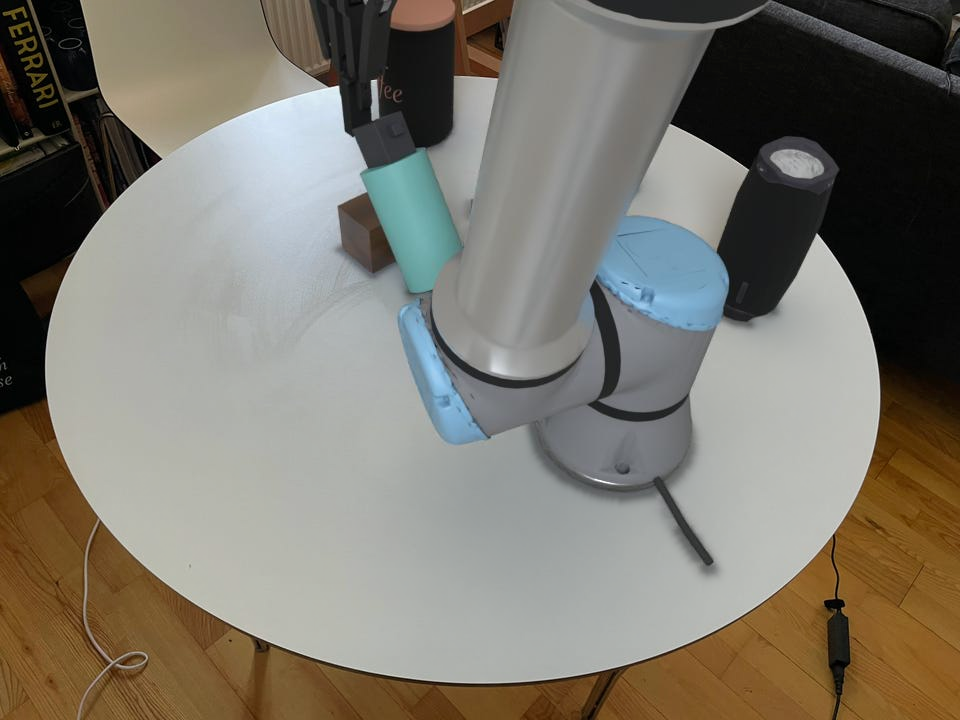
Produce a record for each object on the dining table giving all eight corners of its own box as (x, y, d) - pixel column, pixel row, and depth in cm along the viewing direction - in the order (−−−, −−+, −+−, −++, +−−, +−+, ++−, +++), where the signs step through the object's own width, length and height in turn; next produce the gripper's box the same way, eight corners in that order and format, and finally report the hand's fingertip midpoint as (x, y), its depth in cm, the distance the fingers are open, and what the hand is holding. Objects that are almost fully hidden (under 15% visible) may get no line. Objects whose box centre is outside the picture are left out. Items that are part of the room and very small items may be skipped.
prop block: (424, 245, 93) (423, 203, 89) (372, 273, 90) (369, 231, 85) (393, 222, 96) (391, 179, 91) (342, 248, 92) (337, 205, 88)
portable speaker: (731, 264, 94) (787, 122, 79) (794, 307, 89) (865, 165, 74) (685, 292, 90) (735, 148, 75) (749, 339, 85) (814, 195, 71)
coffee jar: (376, 112, 113) (368, -11, 100) (447, 108, 115) (449, -14, 101) (383, 153, 106) (376, 26, 93) (458, 148, 108) (462, 22, 94)
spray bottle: (483, 289, 88) (483, 140, 74) (434, 319, 84) (424, 169, 71) (404, 234, 95) (390, 91, 82) (355, 260, 92) (332, 114, 78)
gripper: (419, -100, 65) (423, 143, 82) (328, -139, 71) (350, 95, 88) (348, -82, 61) (368, 168, 79) (258, -125, 67) (296, 117, 85)
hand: (358, 129), depth 83 cm, fingers closed
